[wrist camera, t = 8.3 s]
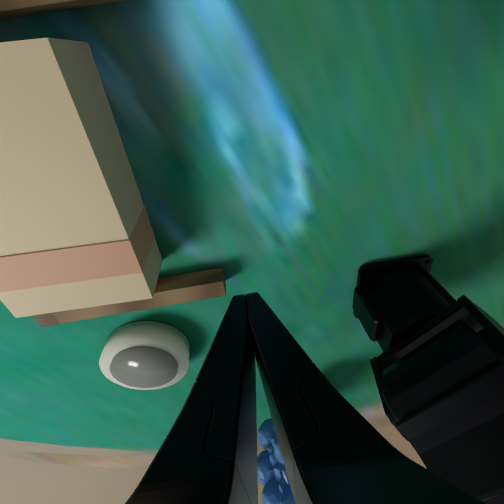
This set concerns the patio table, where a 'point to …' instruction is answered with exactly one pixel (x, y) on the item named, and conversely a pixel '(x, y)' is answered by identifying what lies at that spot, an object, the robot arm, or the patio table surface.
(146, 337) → the push light
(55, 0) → the display bay
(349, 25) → the patio table surface
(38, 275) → the carton
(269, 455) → the grapes
